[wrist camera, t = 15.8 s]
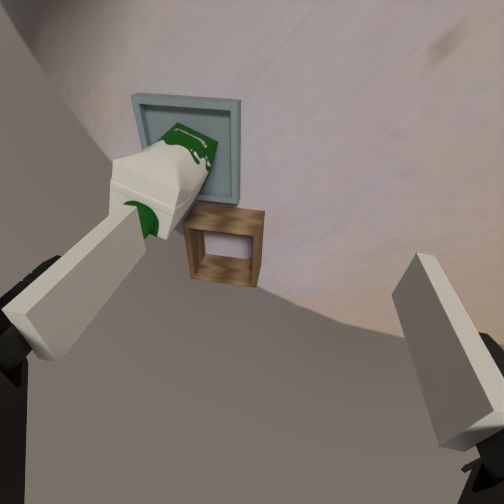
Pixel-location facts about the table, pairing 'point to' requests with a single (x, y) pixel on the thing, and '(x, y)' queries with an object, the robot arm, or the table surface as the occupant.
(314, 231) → the table surface
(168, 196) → the soya milk
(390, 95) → the table surface
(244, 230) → the holder
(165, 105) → the tray
